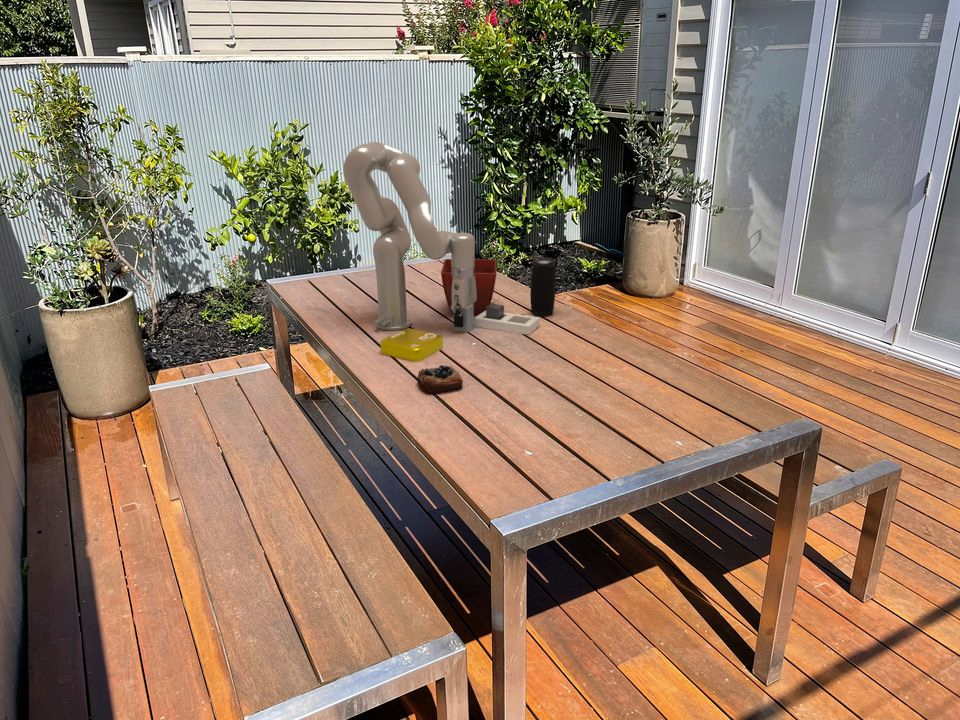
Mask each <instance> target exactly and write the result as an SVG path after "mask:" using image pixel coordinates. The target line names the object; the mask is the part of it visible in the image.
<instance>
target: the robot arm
mask: <svg viewBox="0 0 960 720" xmlns="http://www.w3.org/2000/svg"><path fill="white" fill-rule="evenodd" d="M376 170H378V171H381V172H383V173H386V174H387V176H388V179H389V181H390V182H391V185H392V186H393V188H394V190H395V192H396V193H397V195H398V196H399V198H400V201H401V202H402V204H403V206H404V209H405V210H406V212H407V217H408V218H407V219H408V221H409V224H410V228H411V231H412V233H413V236H414V238H415V240H416V242H417V243H418V245H419V247H420V249H421V251H422V252H423V254H424V255H425V256H426V257H427V258H429V259H430V260H433V261H437V260H440V259H442V258H444V257H445V256H446V255H447V254H451V256H450V257H451V258H450V259H451V266H452V277H453V279H452V305H451V310H452V312H453V315H454V318H453V327H454V326H455V327H461V328H462V327H463V316H462V312H463V308H467V307H468V306H470V305H472V304H474V303H475V302H476V300H477V294H476V280H475V264H474V259H475V237H474V235H473V234H471V233H468V232H451V231H445V230H439V231H438V230H437V227H436V226H435V224H434V221H433V217H432V211H431V208H432V207H431V206H432V201H431V197H430V195H429V193H428V191H427V190H426V188H425V186H424V184H423V181H422V180H421V178H420V176H419V175H420V173H421V165H420V163H419V161H418V159H417V158H416V157H415V156H414V155H412V154H409V153H408V152H405V151H402V150H400V149H398V148H394V147H391V146H389V145H386V144H384V143H383V142H377V141H371V142H367V143H363V144H360V145H357V146H356V147H354V148H353V149H351V151H349V153H348V154H347V156H346V157H345V160H344V163H343V178H344V180H345V182H346V184H347V187H348V189H349V192H350V193H351V195H352V198H353V200H354V203H355V204H356V208H357V210H358V212H359V214H360V217H361V219H362V221H363V223H364V225H365V227H366V228H367V229H368V230H369V231H372V232H379V233H380V235H379V236H377V238H376V240H375V242H374V243H373V246H372V255H373V259H374V265H375V273H376V274H375V275H376V288H377V304H378V315H377V317H378V318H377V319H376V320H374V321H373V322H372V326H373V327H374V328H375V327H376V328H377V329H380V330H385V331H398V330H400V331H401V330H404V329H406V328H409V327H410V326H412V322H413V321H412V319H411V318H410V317H408V314H407V313H408V312H407V311H408V310H407V290H406V288H407V287H406V284H407V283H406V270H405V265H404V264H405V263H404V261H403V260H404V258H403V256H404V255H405V254H407V253H408V252H409V251H410V249H411V245H412V239H411V234H410V231H409V230H408V227H407V225H406V222H405V220H404V218H403V216H402V213H401V211H400V209H399V207H398V205H397V204H396V203H395V201H393V200H392V199H390V198H388V197H383V196H382V195H381V193H380V190H379V188H378V186H377V184H376V182H375V180H374V179H373V178H372V176H371V172H373V171H376ZM457 305H460V306H457ZM457 308H459V309H460V312H459V310H457ZM473 308H474V305H473ZM453 315H452V316H453Z"/></svg>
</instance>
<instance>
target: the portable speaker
mask: <svg viewBox="0 0 960 720" xmlns="http://www.w3.org/2000/svg"><path fill="white" fill-rule="evenodd" d="M556 276H557V274H556V262H555V260H552V259H550V258H549V257H539V258H537V259H533V260H532V267H531V274H530V311H531V312H532V313H533V315H534V317H539V318H544V317H546V316H547V315H553V314H554V307H555V299H556V282H557V281H556V280H557V278H556Z"/></svg>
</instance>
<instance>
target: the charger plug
mask: <svg viewBox="0 0 960 720" xmlns="http://www.w3.org/2000/svg"><path fill="white" fill-rule="evenodd" d="M457 306H460V305H457ZM457 310H459V312H460V309H459V308H457ZM462 316H463V327H462V328H461V327H455V326H454V325H453V331H454V332H460V333H465V332H466V334H468V333H469V332H471V331H472V330H473V329H474V328H475V327H474V318H475V316H474V311H473V304H472V305H470V306H468V307H467V308H463V312H462ZM452 317H453V319H454V315H452ZM471 329H472V330H471ZM467 332H468V333H467Z"/></svg>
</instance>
